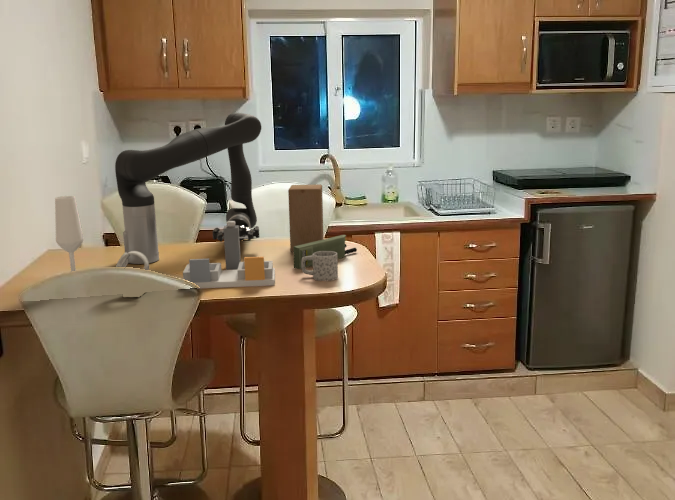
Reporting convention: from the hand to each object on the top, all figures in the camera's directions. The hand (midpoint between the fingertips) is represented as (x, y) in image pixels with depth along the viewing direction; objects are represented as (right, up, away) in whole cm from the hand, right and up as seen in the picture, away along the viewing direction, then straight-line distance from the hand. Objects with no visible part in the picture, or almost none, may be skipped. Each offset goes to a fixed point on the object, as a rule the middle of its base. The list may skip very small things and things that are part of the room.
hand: (234, 237), depth 203 cm
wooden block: (+21, -3, +13) cm, 25 cm away
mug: (+26, -11, -21) cm, 35 cm away
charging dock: (+2, -12, -23) cm, 26 cm away
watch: (-20, -15, -33) cm, 42 cm away
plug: (+1, -9, -9) cm, 13 cm away
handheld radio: (+28, -7, -3) cm, 29 cm away
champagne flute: (-38, -14, -27) cm, 48 cm away
